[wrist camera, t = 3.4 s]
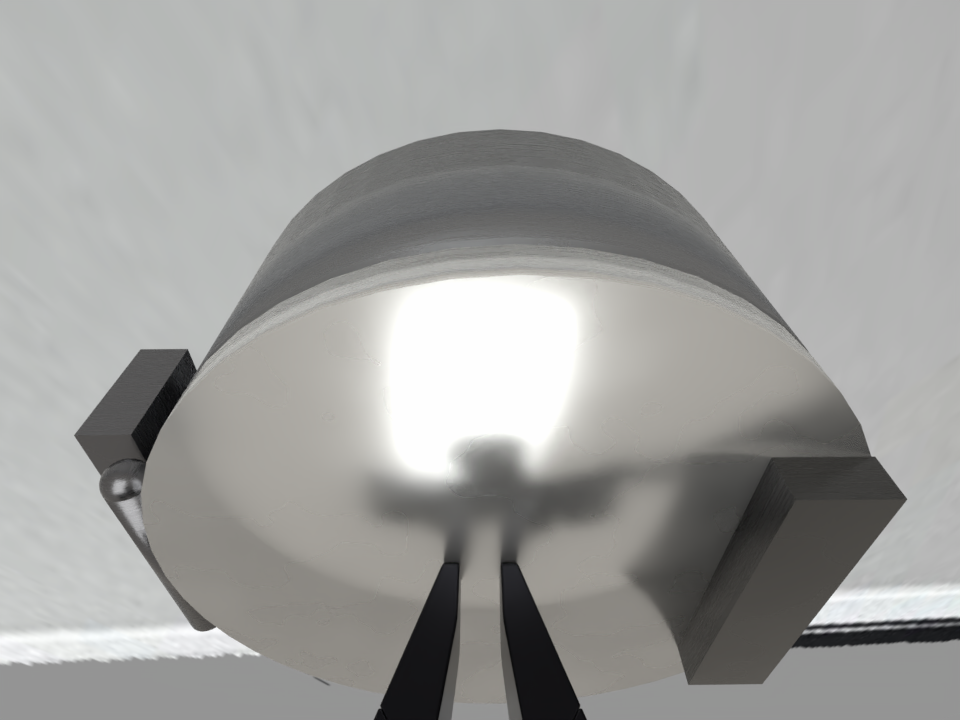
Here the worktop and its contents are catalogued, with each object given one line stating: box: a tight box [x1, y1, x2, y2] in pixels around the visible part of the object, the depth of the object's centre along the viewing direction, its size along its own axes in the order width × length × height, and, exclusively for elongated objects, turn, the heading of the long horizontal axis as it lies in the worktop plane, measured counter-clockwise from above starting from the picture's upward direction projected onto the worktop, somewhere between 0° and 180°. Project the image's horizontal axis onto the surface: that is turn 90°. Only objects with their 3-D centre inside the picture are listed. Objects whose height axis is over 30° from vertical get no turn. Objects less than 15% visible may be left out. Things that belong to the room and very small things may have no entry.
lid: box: [99, 244, 907, 704], centre depth 13 cm, size 16×16×2 cm
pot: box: [74, 129, 808, 475], centre depth 16 cm, size 17×16×6 cm
